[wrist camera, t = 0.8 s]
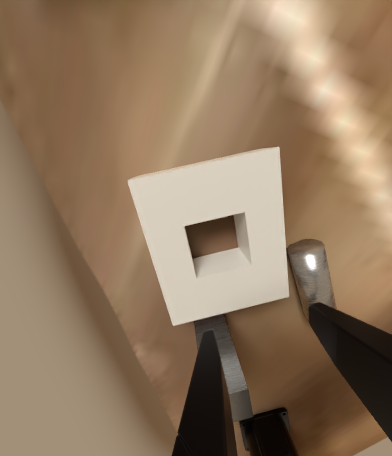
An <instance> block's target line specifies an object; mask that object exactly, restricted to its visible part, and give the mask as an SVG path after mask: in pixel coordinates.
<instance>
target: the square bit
mask: <svg viewBox="0 0 392 456" xmlns="http://www.w3.org/2000/svg"><path fill="white" fill-rule="evenodd" d="M194 326H195V333H196V341H197V348H198V350H199V346H200V342H201V338H202V334H203V332H204V331H206V330H210V329H213V330H214V332H215V336H216V340H217V345H218V349H219V353H220V357H221V361H222V366H223V370H224V374H225V379H226V383H227V387H228V392H229V398H230V404H231V411H232V419H233V422H236V421H240V420H244V419H247V418H251V417H253V413H252V408H251V402H250V397H249V391H248V387H247V384H246V381H245V378H244V375H243V372H242V369H241V366H240V363H239V360H238V357H237V354H236V351H235V348H234V345H233V342H232V339H231V336H230V333H229V330H228V326H227V323H226V320H225V317H224V314H219V315H215V316H211V317H207V318H203V319H199V320H195V321H194Z"/></svg>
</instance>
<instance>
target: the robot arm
mask: <svg viewBox="0 0 392 456" xmlns="http://www.w3.org/2000/svg"><path fill="white" fill-rule="evenodd" d="M308 311H309V323H310V325H311V327H312V329H313V331H314V332H315V334H316V335H317V337H318V339H319V340H320V342H321V344H322V345H323V347H324V348H325V350H326V352H327V353H328V355H329V357H330V358H331V360H332V361H333V363H334V364H335V366H336V367H337V369H338V370H339V372H340V373H341V374H342V376H343V377H344V378H345V380H346V381H347V382H348V384H349V385H350V386H351V388H352V389H353V390H354V392H355V393H356V394H357V396H358V397H359V398H360V400H361V401H362V403H363V404H364V405H365V407H366V408H367V409H368V411H369V412H370V413H371V415H372V416H373V417H374V419H375V420H376V421H377V423H378V424H379V425H380V427H381V428H382V429H383V431H384V432H385V433H386V435H387V436H388V437H389V439H390V440H391V441H392V334H389V333H387V332H385V331H383V330H381V329H378V328H376V327H374V326H372V325H370V324H367V323H365V322H363V321H361V320H359V319H356V318H354V317H352V316H350V315H347V314H345V313H343V312H341V311H339V310H336V309H334V308H332V307H330V306H328V305H325V304H323V303H321V302H316V303H312V304H310V305H309V307H308ZM239 424H240V428H241V433H242V437H243V442H244V446H245V450H246V451H249V452H250V456H299V455H298V452H297V450H296V448H295V445H294V443H293V441H292V438H291V436H290V432H289V421H288V412H287V410H286V409H285V408H282V409H278V410H275V411H271V412H267V413H264V414H260V415H256V416H253V417H251V418H247V419H244V420H240V421H239ZM172 456H237V448H236V441H235V434H234V426H233V419H232V411H231V404H230V398H229V392H228V387H227V383H226V379H225V374H224V370H223V366H222V361H221V357H220V353H219V349H218V345H217V340H216V336H215V332H214V330H213V329H210V330H206V331H204V332H203V334H202V338H201V342H200V346H199V350H198V354H197V358H196V362H195V366H194V370H193V374H192V378H191V382H190V386H189V390H188V394H187V398H186V401H185V405H184V409H183V413H182V417H181V421H180V425H179V429H178V435H177V437H176V441H175V445H174V449H173V452H172Z"/></svg>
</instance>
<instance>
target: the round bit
mask: <svg viewBox="0 0 392 456" xmlns="http://www.w3.org/2000/svg"><path fill="white" fill-rule="evenodd" d="M287 251H288V255H289V259H290V263H291V266H292V270H293V274H294V278H295V281H296V285H297V289H298V293H299V296H300V300H301V304H302V307H303V311H304V315H305V317H306V318H307V319H308V320H309V311H308V307H309V305H310V304H312V303H316V302H321V303H323V304H325V305H328V306H330V307H332V308H334V309H336V310H337V308H336V303H335V298H334V293H333V288H332V282H331V277H330V272H329V267H328V262H327V257H326V251H325V246H324V244H323V243H322V242H321V241H318V240H314V239H304V240H301V241H298V242H296V243H294V244H291V245H289V247H288V249H287Z"/></svg>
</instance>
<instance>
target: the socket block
mask: <svg viewBox="0 0 392 456" xmlns="http://www.w3.org/2000/svg"><path fill="white" fill-rule="evenodd" d="M128 184H129V188H130V191H131V194H132V197H133V200H134V203H135V207H136V210H137V213H138V216H139V219H140V222H141V226H142V229H143V232H144V235H145V238H146V242H147V245H148V248H149V251H150V254H151V257H152V261H153V264H154V267H155V270H156V273H157V276H158V280H159V283H160V286H161V289H162V292H163V296H164V299H165V302H166V305H167V308H168V311H169V315H170V318H171V321H172V324H173V326H175V325H179V324H183V323H187V322H191V321H195V320H199V319H203V318H207V317H211V316H215V315H219V314H223V313H227V312H231V311H235V310H239V309H243V308H247V307H251V306H255V305H259V304H263V303H267V302H271V301H275V300H279V299H283V298H287V297H289V287H288V272H287V256H286V241H285V226H284V211H283V196H282V181H281V166H280V151H279V147H274V148H265V149H257V150H253V151H248V152H244V153H239V154H235V155H230V156H226V157H221V158H217V159H212V160H208V161H203V162H199V163H194V164H190V165H185V166H181V167H176V168H172V169H167V170H163V171H158V172H154V173H149V174H145V175H140V176H136V177H134V178H132V179H130V180H128ZM230 215H233V216H234V222H235V229H236V235H237V242H238V248H234V249H230V250H226V251H222V252H218V253H213V254H209V255H205V256H201V257H197V258H192V254H191V250H190V246H189V241H188V237H187V233H186V229H185V226H187V225H192V224H196V223H200V222H204V221H209V220H213V219H217V218H222V217H226V216H230Z"/></svg>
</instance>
